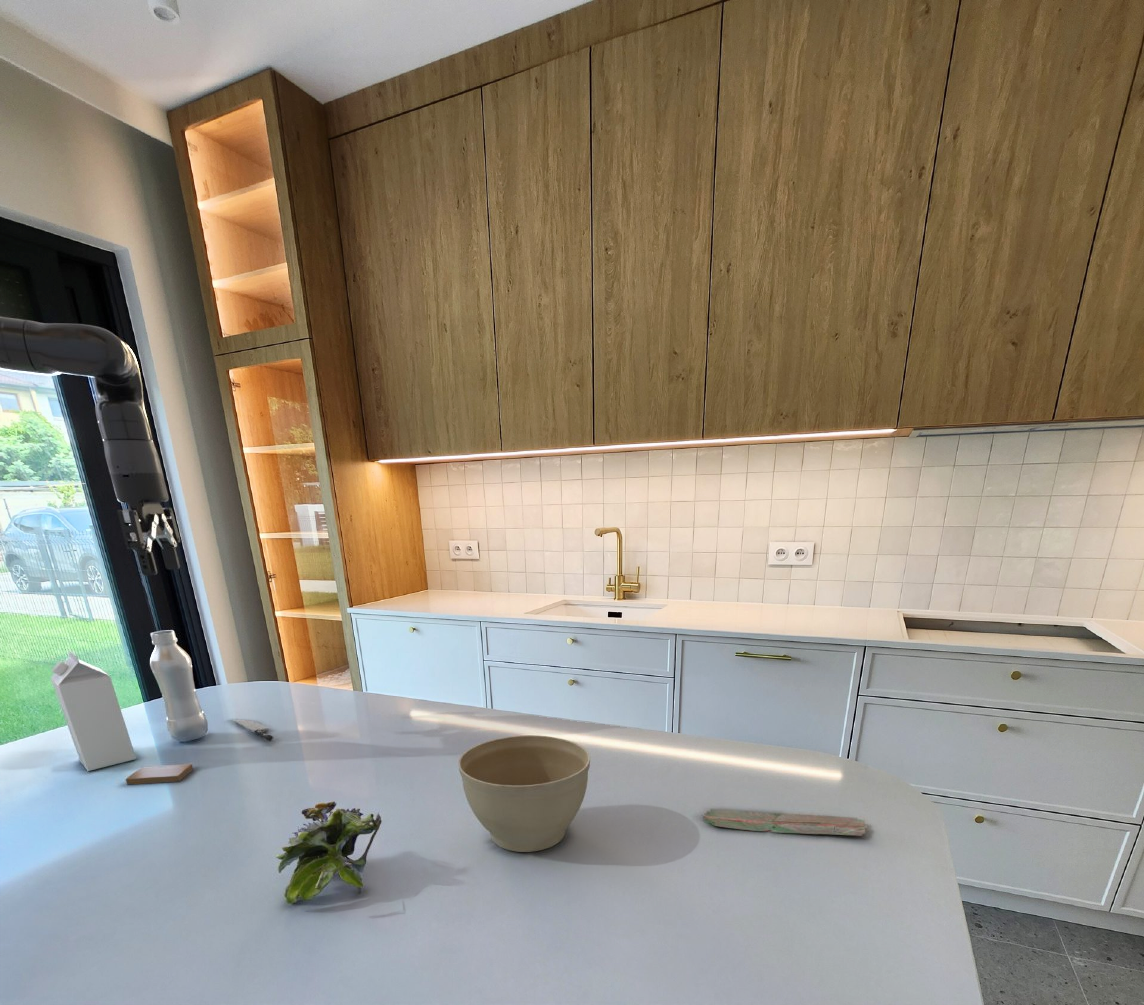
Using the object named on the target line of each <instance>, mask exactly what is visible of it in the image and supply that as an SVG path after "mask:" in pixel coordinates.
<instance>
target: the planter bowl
mask: <svg viewBox="0 0 1144 1005" xmlns="http://www.w3.org/2000/svg"><path fill="white" fill-rule="evenodd" d="M457 765H458V772H459V774H460V776H461V782H462V787H463V788H462V789H463V792H464V795H465V798H466V801H467V803H468V805H469V807H470V809H471V811H472V813H473V814H474V817H475V818H476V819H477V820H478V822H479V823H480V825H482V827H484V829H485V830H486V831H488V833H489V834H490V837H491V840H492V842H493V843H494V844H496V845H497V846H498V847H500V848H502V849H504V850H507V851H510V852H516V853H517V852H518V853H532V852H538V851H543V850H547V849H549V848H552V847H554V846H555V845H557V844H559V843H560V842H561V841H562V840H563V838H564V837H565V834H566V830H567V828H568V826H570V825H571V823H572V822H573V820H574V819H575V817H576V816H577V814H578V812H579V810H580V808H581V806H582V804H583V802H584V799H585V796H586V791H587V787H588V781H589V780H588V779H589V770H590V767H591V756H590V752H589V751H588V750H587V749H585V747H584V746H582V745H580V744H578V743H576V742H574V741H571V740H568V739H564V738H559V737H554V736H546V735H538V734H536V735H533V734H527V735H513V736H505V737H499V738H495V739H490V740H487V741H484V742H481V743H478V744H477V745H474V746H472V747H471V748H469V749H468V750H466V751H465V752H464V753H462V754H461V756H459V758H458V764H457Z"/></svg>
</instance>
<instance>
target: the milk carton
mask: <svg viewBox="0 0 1144 1005" xmlns="http://www.w3.org/2000/svg"><path fill="white" fill-rule="evenodd" d="M67 653H68V657H67V658H66V659H65V661H62V660H60V661H58V662H57V663H56V664H55V665H54V666H53V667H52V668H51V672H52V673H53V674H52V676H51V677H50V680H51V683H52V686H53V689H54V691H55V695H56V697H57V700H58V703H59V706H60V708H61V711H62V714H63V718H64V719H65V723H66V726H67V728H68V731H69V734H70V736H71V737H70V738H71V740H72V742H73V745H74V748H75V750H76V753H77V756H78V760H79V761H80V764H82V766H83V767H84V768H85V769H86V771H88V772H90V771H95V770H99V769H102V768H106V767H110V766H115V765H118V764H123V763H127V762H130V761H133V760H137V757H136V753H135V750H134V747H133V743H132V741H131V738H130V734H129V732H128V728H127V725H126V722H125V719H124V716H123V712H122V709H121V706H120V704H119V700H118V697H117V694H116V691H115V688H114V685H113V684H114V683H113V681H112V678H111V675H109V674H108V673H107V672H105V671H104V670H103V669H101V668H99V667H98V666H94V665H92V664H90V663H88V662H85V661H84V660H81V659H79V657H78V655H77V654H75V653H74V652H73V651H72V650H70V649H67Z"/></svg>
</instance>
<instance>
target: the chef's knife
mask: <svg viewBox="0 0 1144 1005" xmlns="http://www.w3.org/2000/svg"><path fill="white" fill-rule="evenodd" d="M232 721H233V722H235V723H236V724H238V725H240V726H241V727H243V728H245V729H247V730H248V731H250V732H252V733H253V734H255V735H257V736H258V737H261V738H262V739H264V740H266V741H268V742H271V741H273V739H274V736H273V735H271V734H267V733H265V732H266V731H268V730H270V728H269V727H267V726H266V725H263V724H261V723H259V722H256V721H254V720H253V721H252V720H245V719H232Z"/></svg>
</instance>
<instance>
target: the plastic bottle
mask: <svg viewBox="0 0 1144 1005" xmlns="http://www.w3.org/2000/svg"><path fill="white" fill-rule="evenodd" d="M150 637H151V644H152V645H153V646H154V649H153V651H152V653H151V656H150V659H149V666H150V669H151V671H152V674H153V676H154V678H155V680H156V683H157V685H158V687H159V690H160V693H161V697H162V699H163V703H164V709H165V716H166V727H167V732H168V734H169V735H170V738H171V739H173V740H174V741H175V742H189V741H194V740H198V739H200V738H203V737H205V736H206V735H207V733H208V731H209V729H208V728H209V725H208V724H209V723H208V720H207V718H206V715H205V712H204V711H203V709H202V707H201V704H200V701H199V698H198V695H197V691H196V686H195V681H194V673H193V665H192V664H193V663H192V658H191V657H190V654H188V653H187V651H186V650H185V649H183V648H182V647H181V646H180V645H178V644H177V642H178V638H177V637H176V633H175V631H174V630H173V629H170V630H169V629H168V630H159V631H154V632H150Z"/></svg>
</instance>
